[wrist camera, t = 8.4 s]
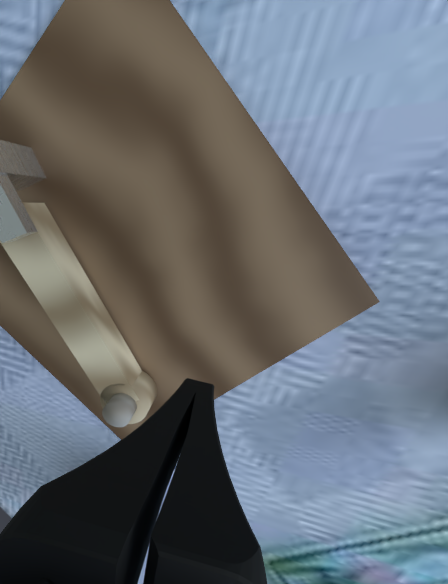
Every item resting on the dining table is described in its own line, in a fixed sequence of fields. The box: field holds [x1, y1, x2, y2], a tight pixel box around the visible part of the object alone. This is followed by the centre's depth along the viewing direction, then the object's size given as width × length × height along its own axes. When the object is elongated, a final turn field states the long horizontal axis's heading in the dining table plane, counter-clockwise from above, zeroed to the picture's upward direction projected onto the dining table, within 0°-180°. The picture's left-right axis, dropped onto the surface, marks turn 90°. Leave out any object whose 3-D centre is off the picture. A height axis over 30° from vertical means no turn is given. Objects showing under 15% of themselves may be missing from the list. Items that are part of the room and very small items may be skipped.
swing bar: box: [0, 202, 157, 427], centre depth 19 cm, size 18×4×3 cm, turn 23°
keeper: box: [0, 140, 46, 243], centre depth 16 cm, size 6×2×4 cm, turn 19°
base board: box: [0, 0, 379, 440], centre depth 20 cm, size 26×26×1 cm
